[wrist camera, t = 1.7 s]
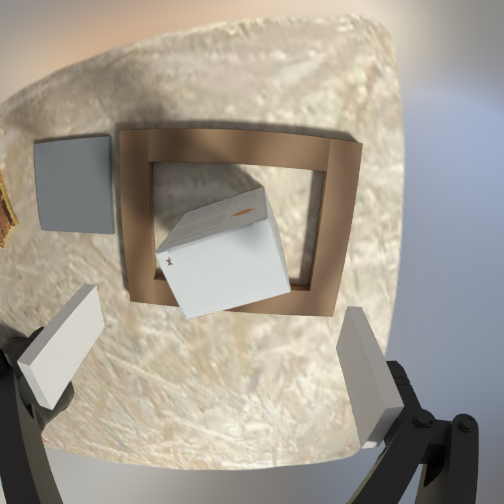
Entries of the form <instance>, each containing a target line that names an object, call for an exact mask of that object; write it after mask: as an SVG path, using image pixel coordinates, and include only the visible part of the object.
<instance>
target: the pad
mask: <svg viewBox="0 0 504 504" xmlns="http://www.w3.org/2000/svg"><path fill="white" fill-rule="evenodd" d="M34 161H35V177H36V190H37V200H38V209H39V217H40V224H41V230H46V231H64V232H82V233H99V234H114V233H115V227H114V214H113V198H112V174H111V136H103V137H90V138H79V139H69V140H60V141H52V142H44V143H37V144H34Z"/></svg>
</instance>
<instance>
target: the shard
mask: <svg viewBox="0 0 504 504" xmlns="http://www.w3.org/2000/svg"><path fill="white" fill-rule="evenodd" d="M16 225H18V220H17V218H16V217H15V215H14V212H13V211H12V209H11V206H10V203H9V199H8V196H7V192H6V188H5V184H4V181H3V177H2V174H1V170H0V246H1V247H2V248H7V241H8V236H9V234H10V232H11V231H12V229H13V228H14V227H16Z"/></svg>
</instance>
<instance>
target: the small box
mask: <svg viewBox="0 0 504 504" xmlns="http://www.w3.org/2000/svg"><path fill="white" fill-rule="evenodd" d="M155 256H156V258H157V260H158V263H159V265H160V267H161V269H162V271H163V273H164V276H165V278H166V280H167V282H168V284H169V286H170V288H171V290H172V292H173V294H174V296H175V298H176V300H177V302H178V304H179V306H180V308H181V310H182V312H183V314H184V316H185V318H186V319H187V320H188V319H192V318H196V317H200V316H204V315H208V314H212V313H215V312H219V311H223V310H227V309H231V308H234V307H238V306H242V305H246V304H249V303H253V302H257V301H260V300H264V299H267V298H271V297H275V296H278V295H282V294H285V293H290V291H291V288H290V283H289V278H288V272H287V267H286V261H285V256H284V252H283V247H282V242H281V238H280V234H279V230H278V227H277V224H276V221H275V217H274V214H273V211H272V208H271V205H270V202H269V199H268V196H267V193H266V190H265V188H264V187H261V188H258V189H255V190H251V191H248V192H245V193H242V194H239V195H236V196H233V197H230V198H227V199H224V200H221V201H218V202H215V203H212V204H209V205H206V206H203V207H200V208H198V209H195V210H192V211H188V212H186V213H185V214H184V216H183V217H182V218H181V219H180V221H179V222H178V223H177V224H176V226H175V227H174V228H173V229H172V231H171V232H170V233H169V235H168V236H167V237H166V239H165V240H164V241H163V243H162V244H161V245H160V246H159V248H158V249H157V250H156V251H155Z"/></svg>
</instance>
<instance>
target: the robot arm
mask: <svg viewBox="0 0 504 504" xmlns="http://www.w3.org/2000/svg"><path fill="white" fill-rule="evenodd" d="M104 327H105V326H104V321H103V317H102V312H101V307H100V303H99V298H98V292H97V287H96V285H90V284H84V285H83V286H82V287H81V288H80V289H79V290H78V291H77V292H76V293H75V295H74V296H73V297H72V298H71V299H70V300H69V301H68V302H67V303H66V304H65V305H64V306H63V308H62V309H61V310H60V311H59V312H58V313H57V314H56V315H55V317H54V318H53V319H52V320H51V321H50V322H49V323H48V324H47V326H46V327H40V328H39V329H37V330H36V331H34V332H33V333H32V334H31V336H30V337H29V338H28V340H26V339H23V338H19V337H13V338H10V339H9V340H8V341H7V342H6V343H5V344H4V345H3V347H2V348H1V347H0V485H2V487H3V491H4V495H5V499H6V503H7V504H63V502H62V499H61V497H60V494H59V491H58V489H57V486H56V483H55V480H54V477H53V475H52V472H51V469H50V466H49V462H48V459H47V456H46V452H45V449H44V445H43V441H42V438H41V433H42V431H43V430H44V428H45V426H46V424H47V423H49V422H50V421H51V420H52V419H53V418H54V417H56V416H57V415H58V414H59V413H60V412H61V411H63V410H65V409H66V408H67V407H68V406H69V404H70V402H71V400H72V399H73V396H74V389H73V386H72V383H71V381H70V380H71V378H72V377H73V375H74V373H75V372H76V370H77V369H78V367H79V365H80V364H81V362H82V361H83V359H84V357H85V356H86V354H87V353H88V351H89V350H90V348H91V347H92V345H93V344H94V342H95V341H96V339H97V338H98V336H99V335H100V333H101V332H102V330H103V329H104ZM336 350H337V353H338V357H339V361H340V364H341V368H342V372H343V376H344V379H345V383H346V387H347V391H348V395H349V399H350V403H351V407H352V411H353V415H354V419H355V423H356V427H357V431H358V436H359V440H360V444H361V448H371V447H378V446H379V445H380V444H381V442H382V441H383V439H384V442H385V445H386V447H385V448H384V450H383V451H382V453H381V454H380V455H379V457H378V458H377V461H376V463H375V464H374V465H373V467H372V468H371V470H370V471H369V473H368V474H367V476H366V478H365V479H364V480H363V482H362V483H361V484H360V486H359V487H358V489H357V490H356V492H355V493H354V494H353V495H352V497H351V498H350V499H349V501H348V502H347V503H346V504H398V502H399V501H400V499H401V497H402V495H403V494H404V492H405V490H406V488H407V486H408V484H409V482H410V481H411V479H412V477H413V475H414V473H415V471H416V469H417V467H418V465H419V464H423V467H422V472H421V478H420V482H419V487H418V491H417V496H416V500H415V504H475V501H476V490H477V478H478V454H479V434H478V433H479V431H478V424H477V422H476V420H475V419H474V418H473V417H472V416H470V415H467V414H459V415H457V416H456V417H455V418H454V419H453V420H452V421H444V420H437V419H435V418H434V416H433V415H432V414H431V413H430V412H428V411H427V410H424V409H422V408H421V406H420V403H419V401H418V399H417V397H416V394H415V392H414V390H413V388H412V386H411V385H410V381H409V379H408V378H407V375H406V373H405V370H404V368H403V367H402V366H401V365H400V364H399V363H398V362H397V361H385V358H384V356H383V354H382V351H381V349H380V347H379V345H378V342H377V340H376V338H375V336H374V333H373V331H372V329H371V327H370V325H369V323H368V320H367V318H366V316H365V314H364V312H363V310H362V308H361V307H348V306H347V310H346V313H345V317H344V321H343V325H342V329H341V332H340V336H339V339H338V343H337V346H336Z"/></svg>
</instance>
